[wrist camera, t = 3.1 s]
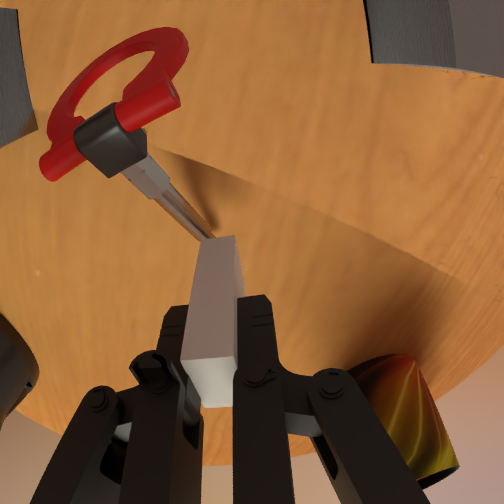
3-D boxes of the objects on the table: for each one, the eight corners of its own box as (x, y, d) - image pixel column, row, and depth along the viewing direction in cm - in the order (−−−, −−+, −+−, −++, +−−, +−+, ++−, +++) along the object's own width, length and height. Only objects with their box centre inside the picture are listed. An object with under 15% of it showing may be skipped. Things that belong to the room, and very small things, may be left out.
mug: (414, 402, 31) (444, 484, 21) (313, 411, 29) (332, 515, 19) (459, 350, 26) (506, 441, 16) (351, 354, 24) (390, 486, 14)
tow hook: (175, 6, 10) (188, 74, 7) (244, 139, 20) (277, 234, 16) (59, 77, 12) (21, 181, 8) (155, 179, 21) (166, 276, 17)
